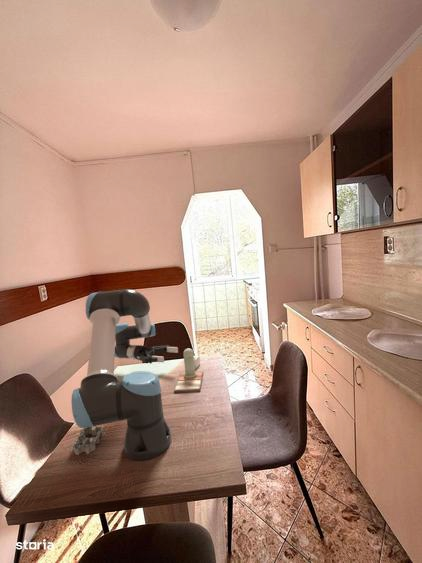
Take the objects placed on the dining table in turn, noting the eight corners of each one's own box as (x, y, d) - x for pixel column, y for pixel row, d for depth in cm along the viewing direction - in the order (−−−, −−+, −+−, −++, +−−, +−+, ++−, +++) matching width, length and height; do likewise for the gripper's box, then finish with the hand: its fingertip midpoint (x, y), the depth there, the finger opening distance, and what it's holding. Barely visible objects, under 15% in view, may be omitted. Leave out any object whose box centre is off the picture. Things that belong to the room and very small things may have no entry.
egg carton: (86, 434, 94) (84, 423, 94) (106, 432, 94) (105, 422, 94) (69, 456, 84) (68, 444, 84) (92, 454, 84) (91, 442, 83)
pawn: (189, 380, 127) (186, 351, 125) (181, 376, 131) (179, 349, 130) (199, 375, 131) (197, 348, 130) (191, 371, 136) (189, 345, 134)
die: (196, 368, 143) (195, 359, 142) (188, 367, 145) (187, 358, 144) (200, 364, 148) (199, 355, 147) (192, 363, 149) (191, 355, 149)
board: (200, 391, 118) (200, 388, 117) (174, 392, 118) (173, 390, 118) (203, 373, 135) (203, 371, 135) (180, 375, 136) (180, 372, 136)
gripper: (151, 350, 154) (183, 353, 146) (122, 368, 131) (157, 371, 123) (150, 338, 154) (181, 339, 145) (120, 353, 131) (155, 356, 122)
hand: (170, 354), depth 134 cm, fingers open, 13 cm apart
